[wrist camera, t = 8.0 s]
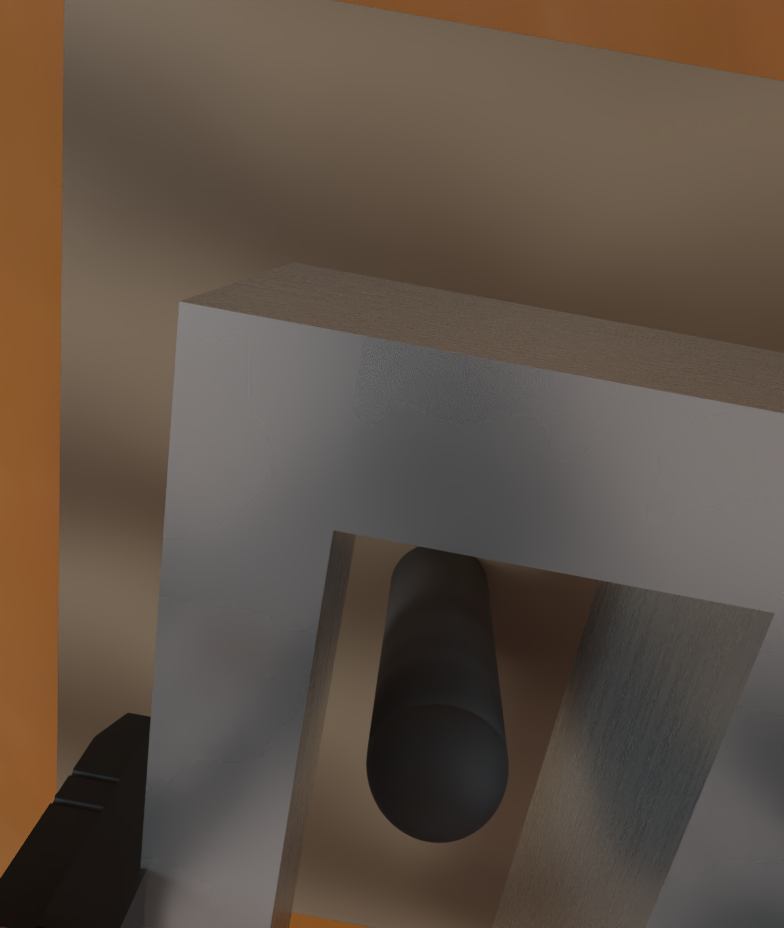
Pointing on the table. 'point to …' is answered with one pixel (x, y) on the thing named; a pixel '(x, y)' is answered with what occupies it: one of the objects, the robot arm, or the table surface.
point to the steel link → (485, 536)
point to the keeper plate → (398, 259)
